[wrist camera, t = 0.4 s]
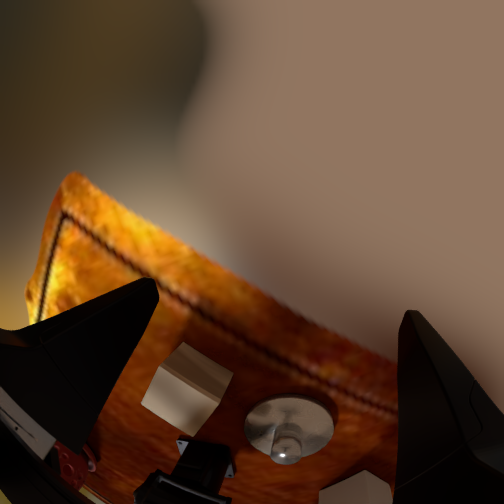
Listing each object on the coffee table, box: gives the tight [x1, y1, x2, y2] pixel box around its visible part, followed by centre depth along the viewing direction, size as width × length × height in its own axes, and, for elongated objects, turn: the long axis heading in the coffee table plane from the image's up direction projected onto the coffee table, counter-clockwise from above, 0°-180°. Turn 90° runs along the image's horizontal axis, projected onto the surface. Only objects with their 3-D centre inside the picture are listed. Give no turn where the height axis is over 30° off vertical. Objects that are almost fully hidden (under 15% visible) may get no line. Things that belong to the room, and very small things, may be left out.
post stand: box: [244, 393, 334, 465], centre depth 22 cm, size 9×9×4 cm
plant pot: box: [54, 441, 97, 491], centre depth 26 cm, size 13×13×12 cm
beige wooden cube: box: [141, 342, 234, 437], centre depth 22 cm, size 6×6×5 cm
